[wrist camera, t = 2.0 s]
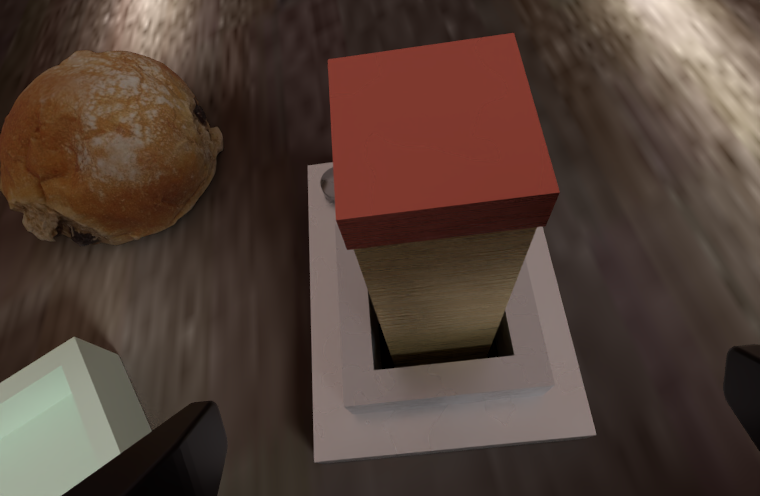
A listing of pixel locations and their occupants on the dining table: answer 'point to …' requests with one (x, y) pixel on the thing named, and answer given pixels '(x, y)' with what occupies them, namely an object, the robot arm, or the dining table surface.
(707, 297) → the dining table surface
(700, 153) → the dining table surface
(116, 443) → the tray
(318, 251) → the bracket
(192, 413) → the robot arm
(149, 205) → the bread roll
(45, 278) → the dining table surface
